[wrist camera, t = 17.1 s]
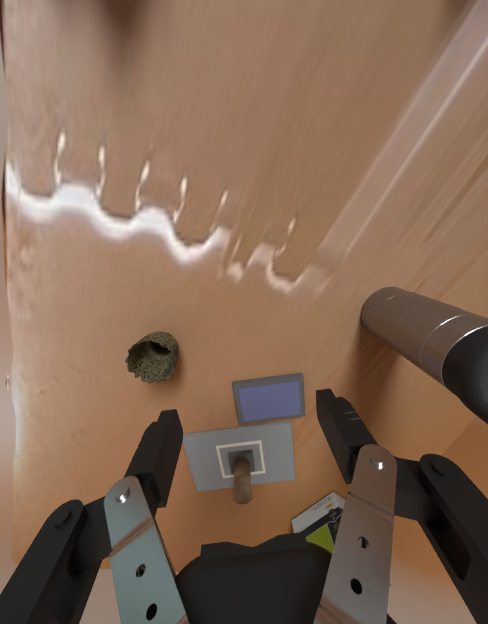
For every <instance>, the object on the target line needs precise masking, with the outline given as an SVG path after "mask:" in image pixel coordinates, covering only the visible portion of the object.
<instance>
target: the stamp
mask: <svg viewBox="0 0 488 624" xmlns="http://www.w3.org/2000/svg"><path fill="white" fill-rule="evenodd" d="M228 460H229V465H230V470H231V474H234V501H235V502H236V503H238V504H246V503H248V502H250V501H251V499H252V492H251V475H250V472H255V464H254V457H253V451H252V449H251V450H242V451H234V452H228Z"/></svg>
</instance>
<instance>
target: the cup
mask: <svg viewBox="0 0 488 624" xmlns="http://www.w3.org/2000/svg"><path fill="white" fill-rule="evenodd" d="M128 352H129V356H128V357H127V358H126V363H128V365H127V367H128V371H129V372H134V373H135V378H138V377H139V376H140V375H141V380H142V381H143V382H146V381H148V383H150V382H152V381H155V380H156V382H157V383H159V382H160V381H161V380H167V379H168V378H169V377H170V376H171V375H172V374H173V372H174V369H175V366H176V362H177V358H178V345H177V342H176V340H175V339H174V338H173V336H172V335H170V334H169V333H164V332H154V333H151V334H148V335H147V336H145V337H144V338H142V339H141V340H140V341H138V342H137V343H136V344H134V345H133V346H132V347H131V348H130V349H129V350H128Z"/></svg>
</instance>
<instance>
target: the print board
mask: <svg viewBox="0 0 488 624" xmlns="http://www.w3.org/2000/svg"><path fill="white" fill-rule="evenodd" d="M183 444H184V447H185V451H186V454H187V458H188V461H189V464H190V468H191V471H192V475H193V478H194V482H195V485H196V488H197V492H202V491H210V490H218V489H226V488H234V474H231V470H230V465H229V460H228V452H234V451H242V450H251V449H252V451H253V457H254V464H255V472H250V475H251V485H258V484H266V483H274V482H282V481H290V480H295V471H294V457H293V444H292V430H291V421H285V422H277V423H269V424H261V425H253V426H245V427H237V428H229V429H222V430H214V431H206V432H198V433H190V434H183Z"/></svg>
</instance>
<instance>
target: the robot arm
mask: <svg viewBox="0 0 488 624" xmlns="http://www.w3.org/2000/svg"><path fill="white" fill-rule="evenodd" d="M361 319H362V323H363V325H364V326H365V328H366V329H367V330H368V331H370V332H371V333H372V334H374V335H375V336H376V337H378V338H379V339H380V340H382V341H383V342H384V343H386V344H387V345H388V346H390V347H391V348H392V349H394V350H395V351H397V352H398V353H399V354H401V355H402V356H403V357H405V358H406V359H407V360H409V361H410V362H412V363H413V364H414V365H416V366H417V367H418V368H420V369H421V370H422V371H424V372H425V373H427V374H428V375H429V376H431V377H432V378H433V379H435V380H436V381H438V382H439V383H440V384H442V385H443V386H444V387H446V388H447V389H448V390H450V391H451V392H452V393H454V394H455V395H456V396H458V397H459V399H460V400H461V401H462V403H463V404H464V405H465V406H466V407H467V408H468V409H469V410H471V411H472V412H473V413H474V414H475V415H477V416H478V417H479V418H480V419H482V420H483V421H484V422H485V423H487V424H488V318H486V317H483V316H479V315H476V314H473V313H471V312H468V311H465V310H462V309H460V308H458V307H455V306H452V305H449V304H446V303H443V302H440V301H437V300H434V299H431V298H428V297H425V296H422V295H419V294H416V293H413V292H409V291H406V290H403V289H400V288H397V287H388V288H384V289H380V290H379V291H377V292H375V293H374V294H373V295H371V296H370V297H369V298H368V300H367V301H366V302H365V304H364V306H363V309H362V313H361ZM316 408H317V417H318V421H319V423H320V426H321V428H322V430H323V433H324V435H325V437H326V439H327V442H328V444H329V446H330V448H331V451H332V453H333V455H334V458H335V460H336V462H337V464H338V467H339V469H340V471H341V474H342V476H343V478H344V480H345V483H346V484H351V488H350V492H348V493H347V496H346V500H345V504H344V508H343V512H342V516H341V520H340V524H339V528H338V533H337V537H336V541H335V545H334V549H333V553H330V552H329V551H328V550H326V549H325V548H323V547H321V546H319V545H317V544H314V543H312V542H307V541H306V537H305V533H304V532H298V533H290V534H283V535H278V536H276V537H274V538H272V539H270V540H268V541H266V542H264V543H262V544H260V545H258V546H255V547H248V546H244V545H239V544H235V543H230V542H220V543H213V544H205V545H201V554H200V556H198V557H197V558H195V559H194V560H192V561H191V562H190V563H188V564H187V565H186V566H185V567H184V568H183V569H182V570H181V571H180V572H179V573H178V575H176V572H175V570H174V567H173V565H172V562H171V560H170V557H169V555H168V552H167V549H166V547H165V544H164V541H163V538H162V536H161V533H160V530H159V528H158V525H157V522H156V520H155V515H156V511H157V508H162V507H166V504H167V500H168V496H169V492H170V488H171V484H172V481H173V477H174V473H175V469H176V465H177V461H178V457H179V453H180V449H181V445H182V441H183V429H182V426H181V423H180V419H179V416H178V413H177V410H176V409H173V410H165V411H162V412H161V413H160V416H159V418H158V421H157V422H152V423H151V424H150V426H149V427H148V428H147V429H146V430H145V432H144V434H143V437H142V439H141V441H140V443H139V445H138V448H137V450H136V452H135V454H134V456H133V458H132V461H131V463H130V465H129V467H128V469H127V472H126V474H125V476H124V478H122V479H121V480H119V481H118V482H116V483H115V484H114V485H113V486H112V487H111V488H110V490H109V491H108V492H107V494H106V496H104V497H102V498H100V499H98V500H95V501H93V502H91V503H89V504H87V505H83V503H82V502H81V501H80V500H76V499H75V500H70V501H68V502H66V503H64V504H62V505H61V506H60V507H58V508H57V509H56V510H55V511H54V512H53V513H52V514H51V515H50V516H49V517H48V518H47V520H46V521H45V523H44V524H43V526H42V528H41V529H40V531H39V533H38V534H37V536H36V537H35V539H34V541H33V542H32V544H31V546H30V547H29V549H28V550H27V552H26V554H25V555H24V557H23V559H22V560H21V562H20V563H19V565H18V567H17V568H16V570H15V572H14V573H13V575H12V577H11V578H10V580H9V581H8V583H7V585H6V586H5V588H4V589H3V591H2V593H1V594H0V624H79V622H80V620H81V617H82V614H83V611H84V609H85V606H86V603H87V600H88V597H89V595H90V592H91V590H92V587H93V584H94V581H95V579H96V576H97V573H98V570H99V568H100V565H101V562H102V560H103V559H104V558H106V557H108V556H110V563H111V569H112V575H113V580H114V586H115V592H116V597H117V604H118V609H119V615H120V621H121V624H396V623H395V621H394V620H393V619H392V618H391V617H390V616H389V615H388V614H387V607H388V593H389V580H390V566H391V553H392V539H393V526H394V515H396V516H400V517H404V518H408V519H412V520H416V521H418V522H419V524H420V525H421V527H422V529H423V531H424V533H425V534H426V536H427V538H428V540H429V541H430V543H431V545H432V546H433V548H434V550H435V552H436V553H437V555H438V557H439V558H440V560H441V562H442V564H443V566H444V567H445V569H446V571H447V573H448V574H449V576H450V578H451V579H452V581H453V583H454V585H455V586H456V588H457V590H458V591H459V593H460V595H461V597H462V598H463V600H464V602H465V604H466V605H467V607H468V609H469V611H470V612H471V614H472V616H473V617H474V619H475V621H476V623H477V624H488V499H487V498H486V497H485V496H484V495H483V493H482V492H481V491H480V490H479V489H478V488H477V487H476V486H475V484H474V483H473V482H472V481H471V480H470V479H469V478H468V476H467V475H466V474H465V473H464V472H463V471H462V470H461V469H460V468H459V467H458V466H457V465H456V464H455V463H454V462H452V461H451V460H449V459H447V458H445V457H443V456H440V455H437V454H425V455H423V456H422V457H421V458H420V462H418V461H412V460H407V459H401V458H397V457H395V456H393V455H392V454H391V453H390V452H389V451H388V450H386V449H385V448H383V447H381V446H379V445H378V444H377V442H376V441H375V439H374V438H373V436H372V435H371V433H370V432H369V430H368V429H367V427H366V426H365V424H364V423H363V422H362V420H361V419H360V417H359V416H358V414H357V413H356V412H355V410H354V408H353V407H352V405H351V404H350V403H349V402H348V401H347V400H345V399H344V398H343V397H337V398H336V397H335V395H334V394H333V392H332V390H331V389H322V390H316Z"/></svg>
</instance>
